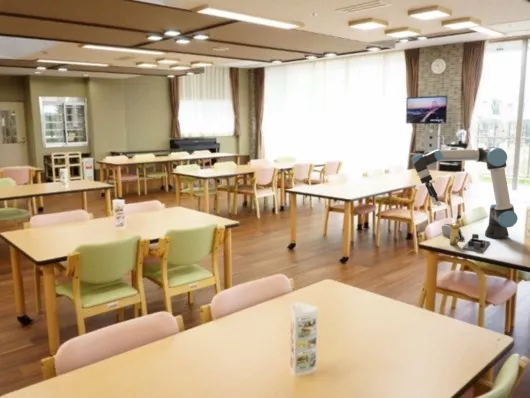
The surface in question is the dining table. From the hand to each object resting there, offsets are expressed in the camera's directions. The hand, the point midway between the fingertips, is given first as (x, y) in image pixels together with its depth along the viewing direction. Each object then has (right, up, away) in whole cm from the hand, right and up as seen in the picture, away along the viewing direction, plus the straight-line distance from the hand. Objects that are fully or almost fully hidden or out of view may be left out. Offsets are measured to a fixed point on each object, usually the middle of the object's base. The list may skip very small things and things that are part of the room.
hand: (437, 205), depth 327 cm
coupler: (+7, -26, -9) cm, 28 cm away
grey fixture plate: (+21, -27, -12) cm, 36 cm away
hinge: (+14, -23, +12) cm, 29 cm away
